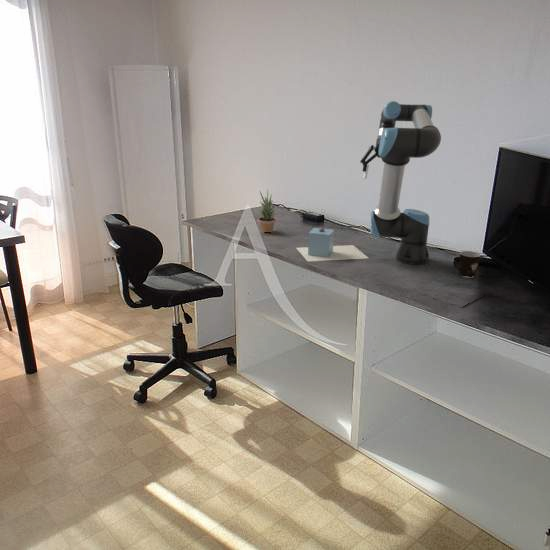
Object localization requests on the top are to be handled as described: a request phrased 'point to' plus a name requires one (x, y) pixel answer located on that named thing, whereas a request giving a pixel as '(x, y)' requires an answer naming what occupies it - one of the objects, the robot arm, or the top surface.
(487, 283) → the top surface
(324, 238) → the box cover
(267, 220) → the potted plant
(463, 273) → the coffee mug
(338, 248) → the mat
